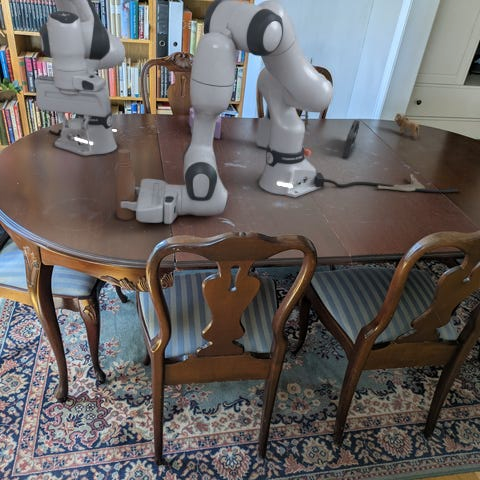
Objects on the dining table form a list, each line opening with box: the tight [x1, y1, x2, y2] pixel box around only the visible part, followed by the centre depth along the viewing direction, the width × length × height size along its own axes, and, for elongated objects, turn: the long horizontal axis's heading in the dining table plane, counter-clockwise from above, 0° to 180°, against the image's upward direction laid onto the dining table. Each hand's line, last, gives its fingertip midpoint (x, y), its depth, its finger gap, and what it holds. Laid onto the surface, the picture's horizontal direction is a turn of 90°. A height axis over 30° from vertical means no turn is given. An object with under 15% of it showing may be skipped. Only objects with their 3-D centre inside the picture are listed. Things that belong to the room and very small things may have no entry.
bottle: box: [113, 148, 136, 221], centre depth 131 cm, size 6×6×20 cm
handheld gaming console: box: [342, 119, 361, 159], centre depth 194 cm, size 23×3×10 cm, turn 161°
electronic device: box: [255, 105, 271, 150], centre depth 183 cm, size 12×8×30 cm, turn 71°
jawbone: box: [376, 173, 426, 193], centre depth 169 cm, size 9×20×2 cm, turn 126°
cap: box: [67, 117, 84, 129], centre depth 134 cm, size 4×4×2 cm
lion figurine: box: [394, 112, 422, 140], centre depth 218 cm, size 15×5×9 cm, turn 50°
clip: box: [188, 106, 222, 140], centre depth 199 cm, size 20×12×7 cm, turn 23°
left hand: (76, 128), depth 134 cm, fingers closed on cap, 4 cm apart
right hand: (122, 198), depth 133 cm, fingers closed on bottle, 5 cm apart
